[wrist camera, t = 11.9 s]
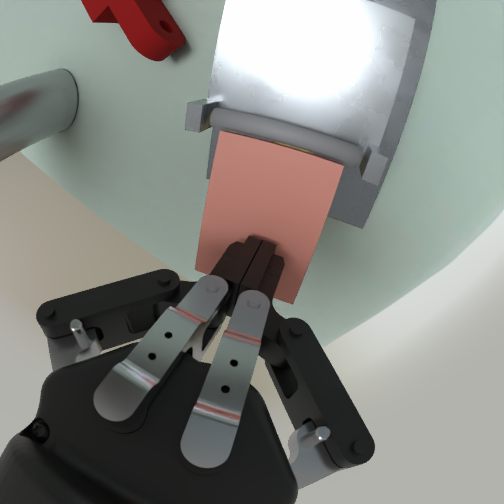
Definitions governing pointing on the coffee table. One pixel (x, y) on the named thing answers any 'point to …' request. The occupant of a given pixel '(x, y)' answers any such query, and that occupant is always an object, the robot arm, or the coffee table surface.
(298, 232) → the latch flap
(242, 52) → the latch base plate
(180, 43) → the mechanical linkage
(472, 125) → the coffee table surface
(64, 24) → the coffee table surface
